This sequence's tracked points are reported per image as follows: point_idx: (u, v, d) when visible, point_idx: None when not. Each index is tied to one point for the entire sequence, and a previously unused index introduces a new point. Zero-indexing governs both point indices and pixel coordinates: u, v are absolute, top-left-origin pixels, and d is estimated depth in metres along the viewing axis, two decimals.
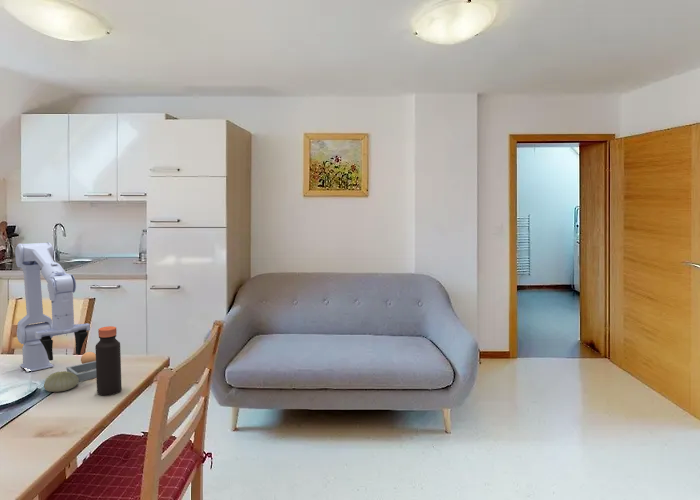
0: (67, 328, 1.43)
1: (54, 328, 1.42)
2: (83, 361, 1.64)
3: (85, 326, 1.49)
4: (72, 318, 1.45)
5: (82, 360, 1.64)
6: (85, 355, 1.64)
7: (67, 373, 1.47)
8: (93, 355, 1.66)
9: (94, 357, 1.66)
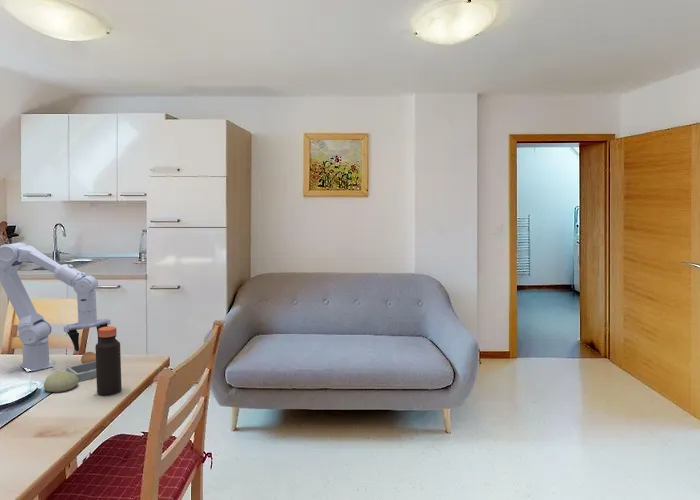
0: (91, 322, 1.63)
1: (80, 322, 1.62)
2: (83, 361, 1.64)
3: (106, 321, 1.68)
4: (95, 314, 1.65)
5: (82, 360, 1.64)
6: (85, 355, 1.64)
7: (67, 373, 1.47)
8: (93, 355, 1.66)
9: (94, 357, 1.66)
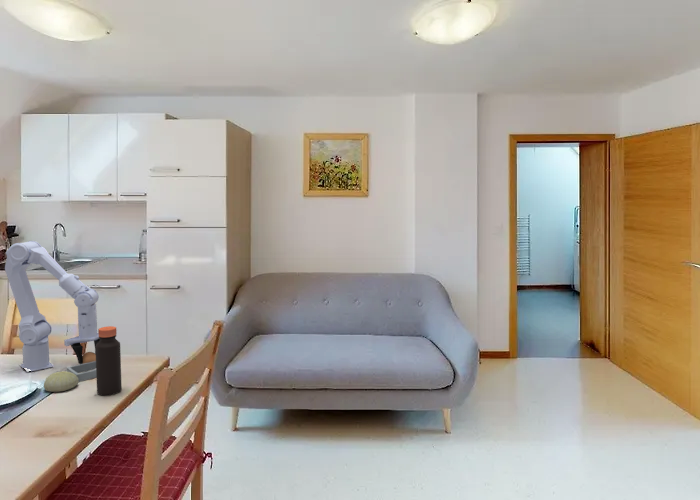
0: (91, 336, 1.64)
1: (80, 336, 1.63)
2: (83, 361, 1.64)
3: None
4: (95, 327, 1.65)
5: None
6: (85, 355, 1.64)
7: (67, 373, 1.47)
8: (93, 355, 1.66)
9: (94, 357, 1.66)
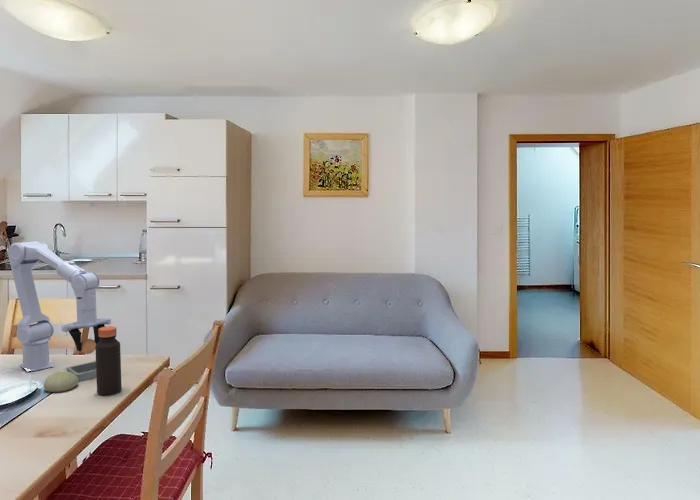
0: (91, 322, 1.55)
1: (79, 322, 1.54)
2: (82, 348, 1.55)
3: (106, 320, 1.60)
4: (95, 313, 1.56)
5: (81, 347, 1.55)
6: (84, 342, 1.56)
7: (67, 373, 1.47)
8: (92, 342, 1.57)
9: (93, 344, 1.57)
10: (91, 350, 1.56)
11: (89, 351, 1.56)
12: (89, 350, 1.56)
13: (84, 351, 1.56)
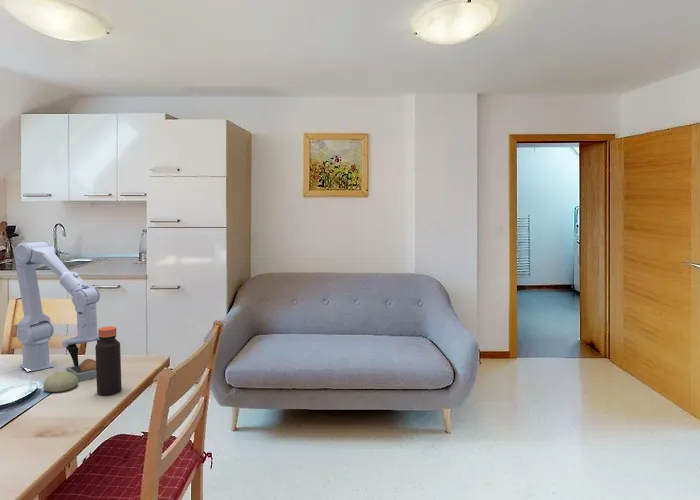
0: (91, 337, 1.56)
1: (79, 337, 1.55)
2: (82, 369, 1.56)
3: None
4: (95, 327, 1.57)
5: (81, 368, 1.56)
6: (84, 363, 1.56)
7: (67, 373, 1.47)
8: (93, 362, 1.58)
9: (94, 364, 1.58)
10: None
11: None
12: None
13: (85, 371, 1.56)
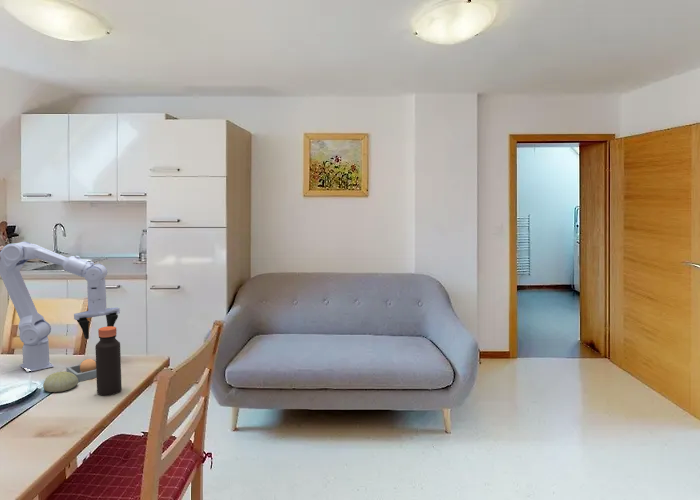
0: (101, 311, 1.64)
1: (90, 311, 1.63)
2: (82, 369, 1.56)
3: (115, 309, 1.70)
4: (105, 302, 1.66)
5: (81, 368, 1.56)
6: (84, 363, 1.56)
7: (66, 373, 1.47)
8: (92, 363, 1.57)
9: (93, 365, 1.57)
10: None
11: None
12: None
13: None
